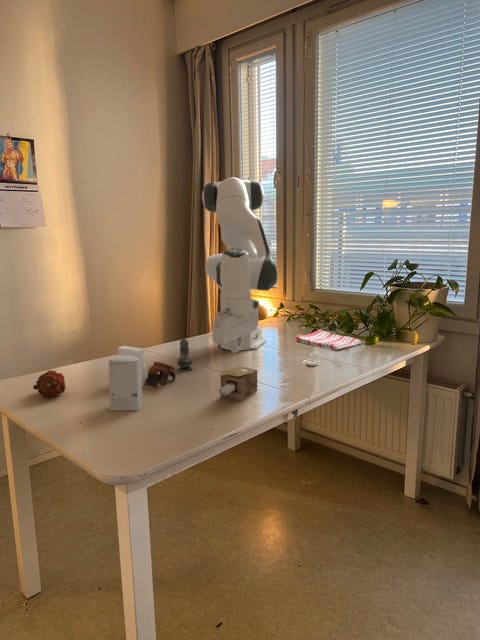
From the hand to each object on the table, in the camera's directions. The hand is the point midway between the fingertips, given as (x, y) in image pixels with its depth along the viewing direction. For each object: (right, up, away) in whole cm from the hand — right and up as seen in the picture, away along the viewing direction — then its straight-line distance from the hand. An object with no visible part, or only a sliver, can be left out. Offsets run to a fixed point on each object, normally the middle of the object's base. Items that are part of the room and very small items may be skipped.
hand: (236, 351), depth 140 cm
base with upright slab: (-34, -12, +15) cm, 39 cm away
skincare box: (-31, -16, -5) cm, 35 cm away
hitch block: (+1, -13, +5) cm, 14 cm away
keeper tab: (0, -7, 0) cm, 7 cm away
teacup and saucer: (+26, -7, +36) cm, 45 cm away
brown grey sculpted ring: (-25, -12, +14) cm, 31 cm away
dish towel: (+39, -1, +65) cm, 76 cm away
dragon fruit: (-57, -14, +5) cm, 59 cm away
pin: (0, -12, +3) cm, 12 cm away
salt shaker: (-19, -9, +29) cm, 36 cm away
